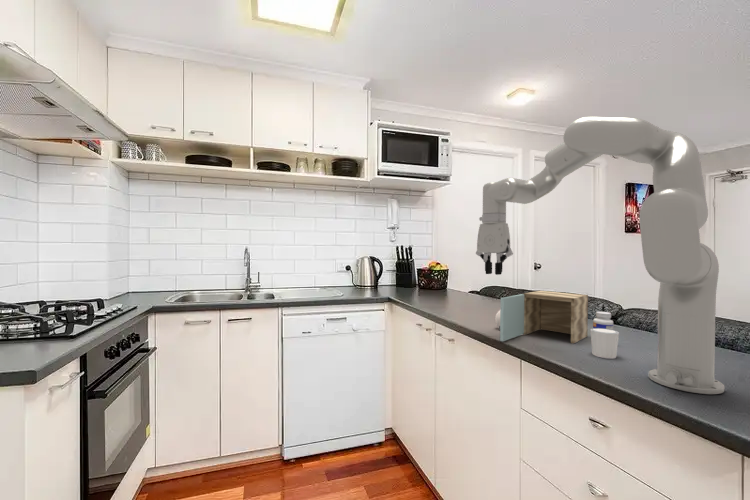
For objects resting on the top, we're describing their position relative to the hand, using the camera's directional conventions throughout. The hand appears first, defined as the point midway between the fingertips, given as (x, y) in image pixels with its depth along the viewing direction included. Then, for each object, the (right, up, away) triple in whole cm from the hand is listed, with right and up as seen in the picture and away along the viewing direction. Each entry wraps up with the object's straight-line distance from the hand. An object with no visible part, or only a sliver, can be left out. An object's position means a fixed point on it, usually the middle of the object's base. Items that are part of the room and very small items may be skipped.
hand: (493, 273), depth 119 cm
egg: (+7, -21, +11) cm, 25 cm away
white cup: (+24, -22, -20) cm, 38 cm away
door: (+5, -21, -2) cm, 21 cm away
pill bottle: (+32, -22, -7) cm, 40 cm away
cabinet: (+22, -21, +2) cm, 31 cm away
